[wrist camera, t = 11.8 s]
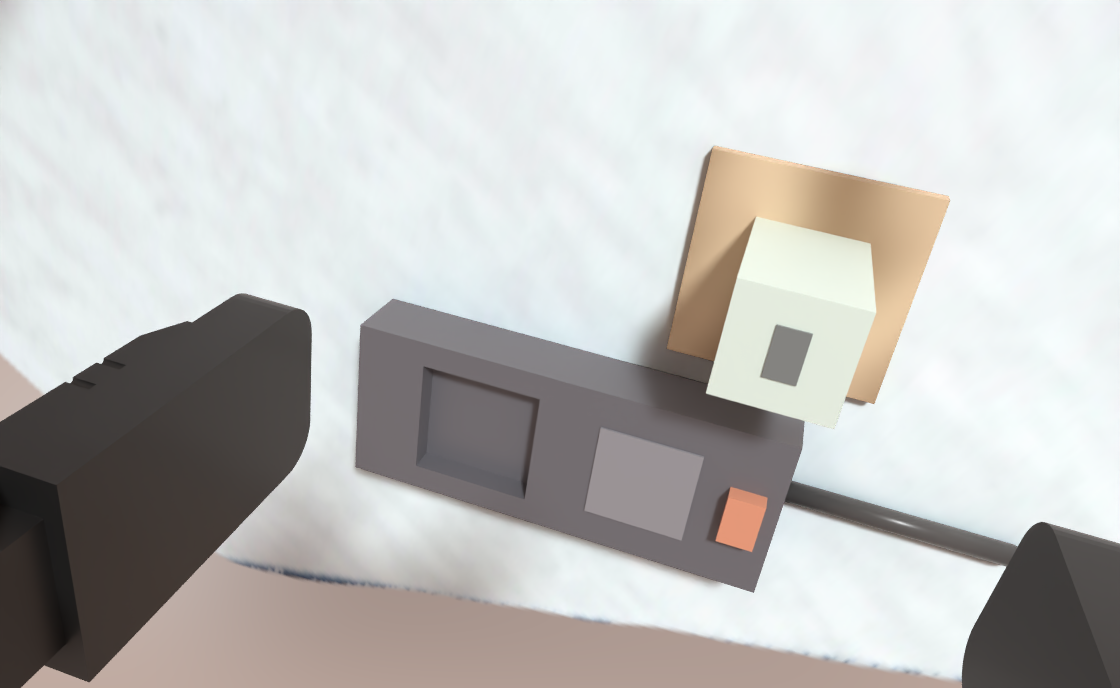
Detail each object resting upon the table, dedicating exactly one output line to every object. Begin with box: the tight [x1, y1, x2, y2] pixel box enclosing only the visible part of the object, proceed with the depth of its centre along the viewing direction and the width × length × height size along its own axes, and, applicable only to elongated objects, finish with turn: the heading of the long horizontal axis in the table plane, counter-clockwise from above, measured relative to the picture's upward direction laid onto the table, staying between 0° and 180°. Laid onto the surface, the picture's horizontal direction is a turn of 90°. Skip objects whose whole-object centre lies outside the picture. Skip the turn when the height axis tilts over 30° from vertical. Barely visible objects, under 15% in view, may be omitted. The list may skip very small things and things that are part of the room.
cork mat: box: [667, 146, 950, 404], centre depth 35 cm, size 9×9×1 cm
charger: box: [706, 217, 876, 429], centre depth 32 cm, size 4×4×7 cm
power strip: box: [356, 299, 1017, 593], centre depth 39 cm, size 30×8×4 cm, turn 82°
